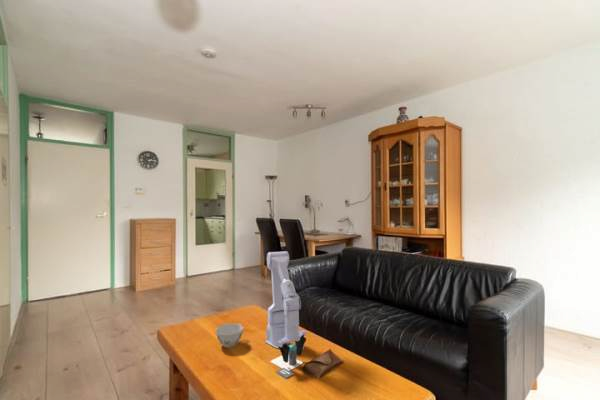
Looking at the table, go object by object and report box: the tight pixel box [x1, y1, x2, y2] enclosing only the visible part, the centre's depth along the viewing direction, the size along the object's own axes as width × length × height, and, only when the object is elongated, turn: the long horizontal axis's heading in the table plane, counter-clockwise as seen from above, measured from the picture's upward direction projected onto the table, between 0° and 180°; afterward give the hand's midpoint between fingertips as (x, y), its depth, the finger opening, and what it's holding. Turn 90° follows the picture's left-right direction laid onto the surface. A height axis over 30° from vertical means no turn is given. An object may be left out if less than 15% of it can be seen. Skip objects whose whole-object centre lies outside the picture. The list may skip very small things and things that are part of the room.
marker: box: [288, 343, 298, 365], centre depth 124 cm, size 3×3×7 cm
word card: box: [275, 368, 294, 380], centre depth 117 cm, size 6×4×1 cm, turn 45°
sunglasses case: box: [302, 348, 345, 380], centre depth 123 cm, size 18×7×7 cm
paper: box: [269, 355, 304, 372], centre depth 125 cm, size 11×9×1 cm
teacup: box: [215, 322, 244, 349], centre depth 143 cm, size 15×12×8 cm
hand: (292, 358), depth 124 cm, fingers open, 7 cm apart
